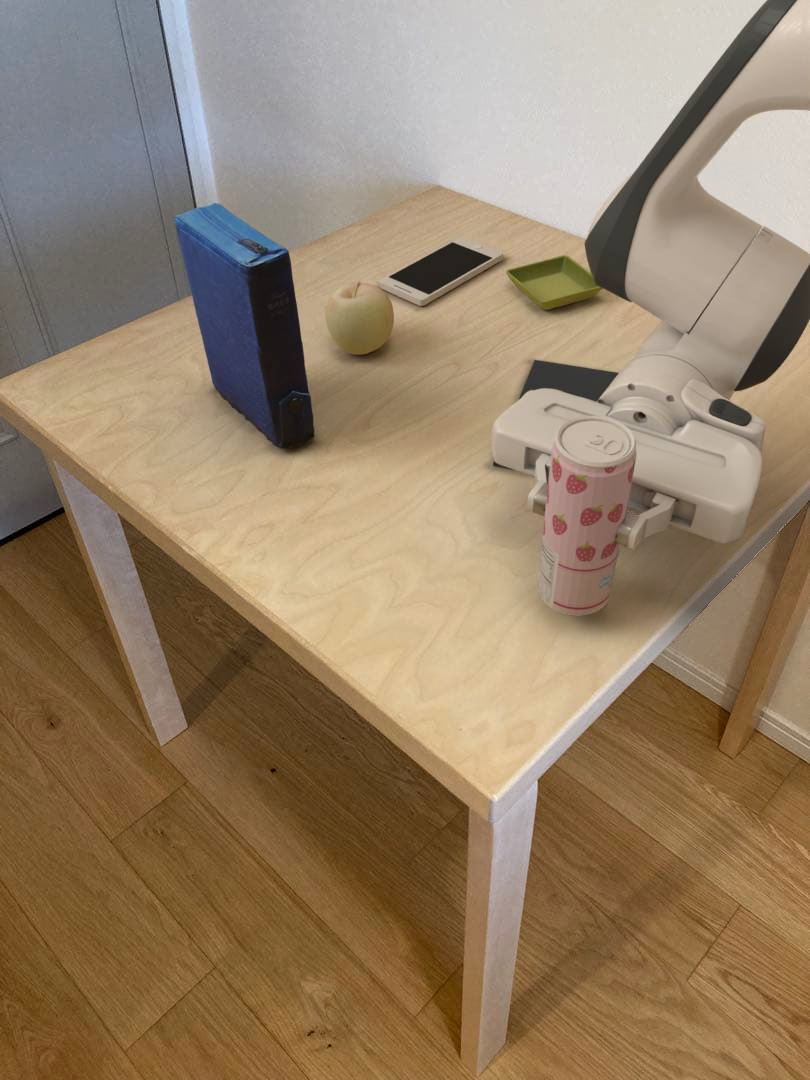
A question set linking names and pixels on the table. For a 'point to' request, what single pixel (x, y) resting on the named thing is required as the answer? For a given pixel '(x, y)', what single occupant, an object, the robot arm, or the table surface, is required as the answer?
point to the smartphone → (440, 271)
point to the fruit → (359, 317)
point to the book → (248, 321)
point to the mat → (567, 381)
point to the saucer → (554, 282)
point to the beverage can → (584, 513)
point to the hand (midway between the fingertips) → (580, 523)
